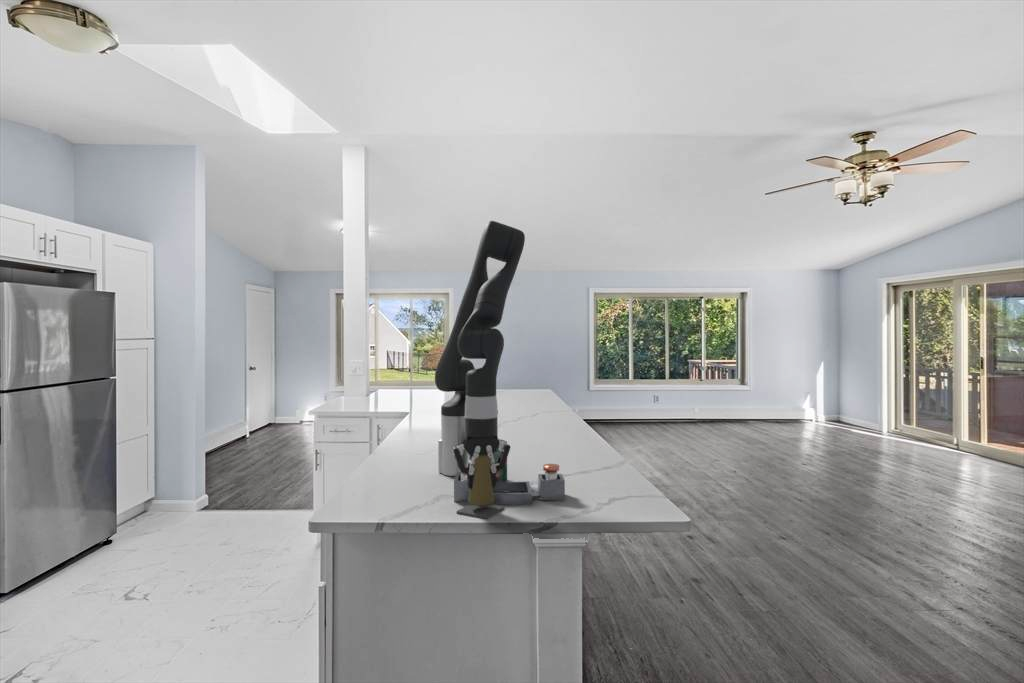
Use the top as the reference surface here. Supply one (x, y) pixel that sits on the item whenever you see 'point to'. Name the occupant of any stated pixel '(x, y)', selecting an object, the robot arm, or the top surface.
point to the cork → (481, 482)
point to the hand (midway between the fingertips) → (481, 488)
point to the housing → (545, 490)
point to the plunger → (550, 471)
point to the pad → (480, 510)
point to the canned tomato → (502, 474)
